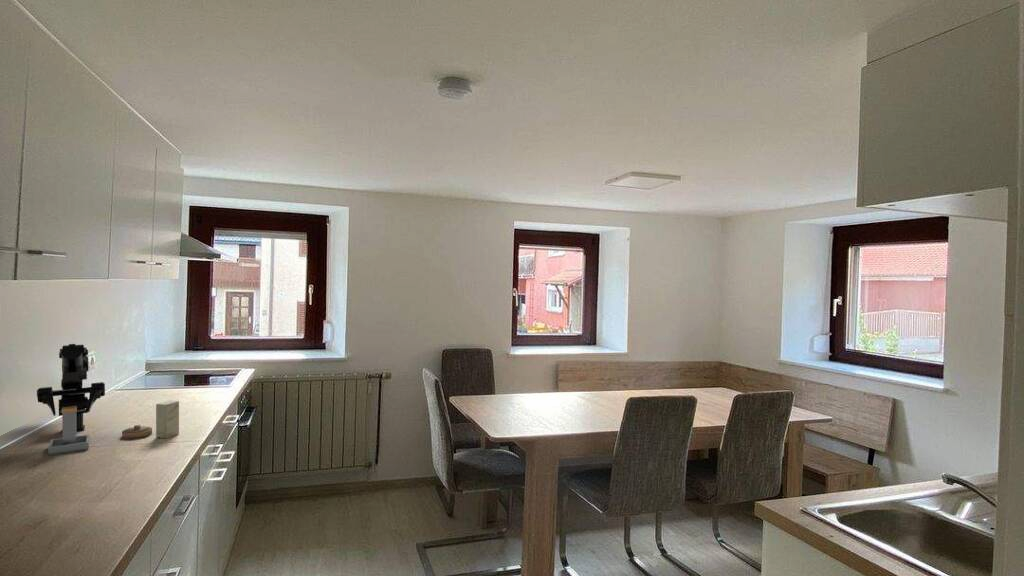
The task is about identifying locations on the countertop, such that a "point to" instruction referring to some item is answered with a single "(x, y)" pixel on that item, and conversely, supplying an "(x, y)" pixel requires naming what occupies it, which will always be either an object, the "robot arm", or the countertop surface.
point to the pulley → (136, 432)
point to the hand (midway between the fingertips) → (71, 413)
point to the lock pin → (69, 425)
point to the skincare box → (167, 419)
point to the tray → (59, 448)
